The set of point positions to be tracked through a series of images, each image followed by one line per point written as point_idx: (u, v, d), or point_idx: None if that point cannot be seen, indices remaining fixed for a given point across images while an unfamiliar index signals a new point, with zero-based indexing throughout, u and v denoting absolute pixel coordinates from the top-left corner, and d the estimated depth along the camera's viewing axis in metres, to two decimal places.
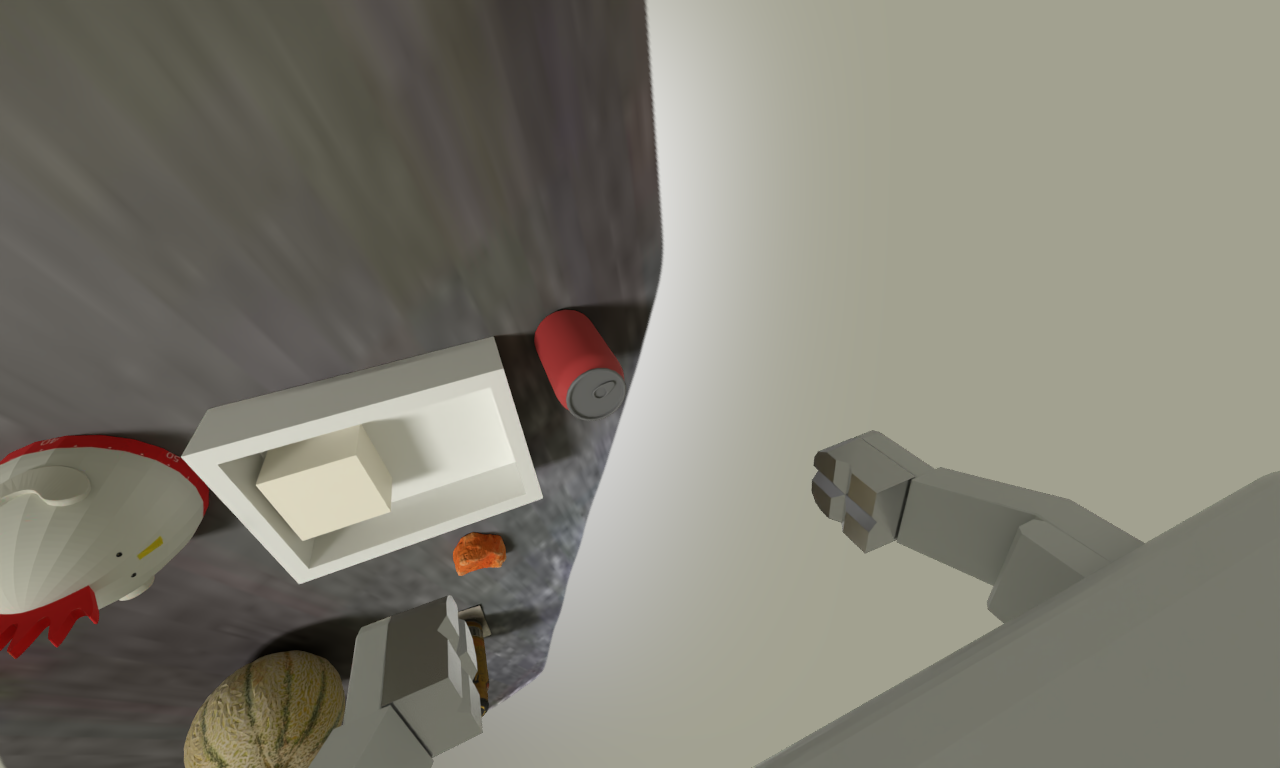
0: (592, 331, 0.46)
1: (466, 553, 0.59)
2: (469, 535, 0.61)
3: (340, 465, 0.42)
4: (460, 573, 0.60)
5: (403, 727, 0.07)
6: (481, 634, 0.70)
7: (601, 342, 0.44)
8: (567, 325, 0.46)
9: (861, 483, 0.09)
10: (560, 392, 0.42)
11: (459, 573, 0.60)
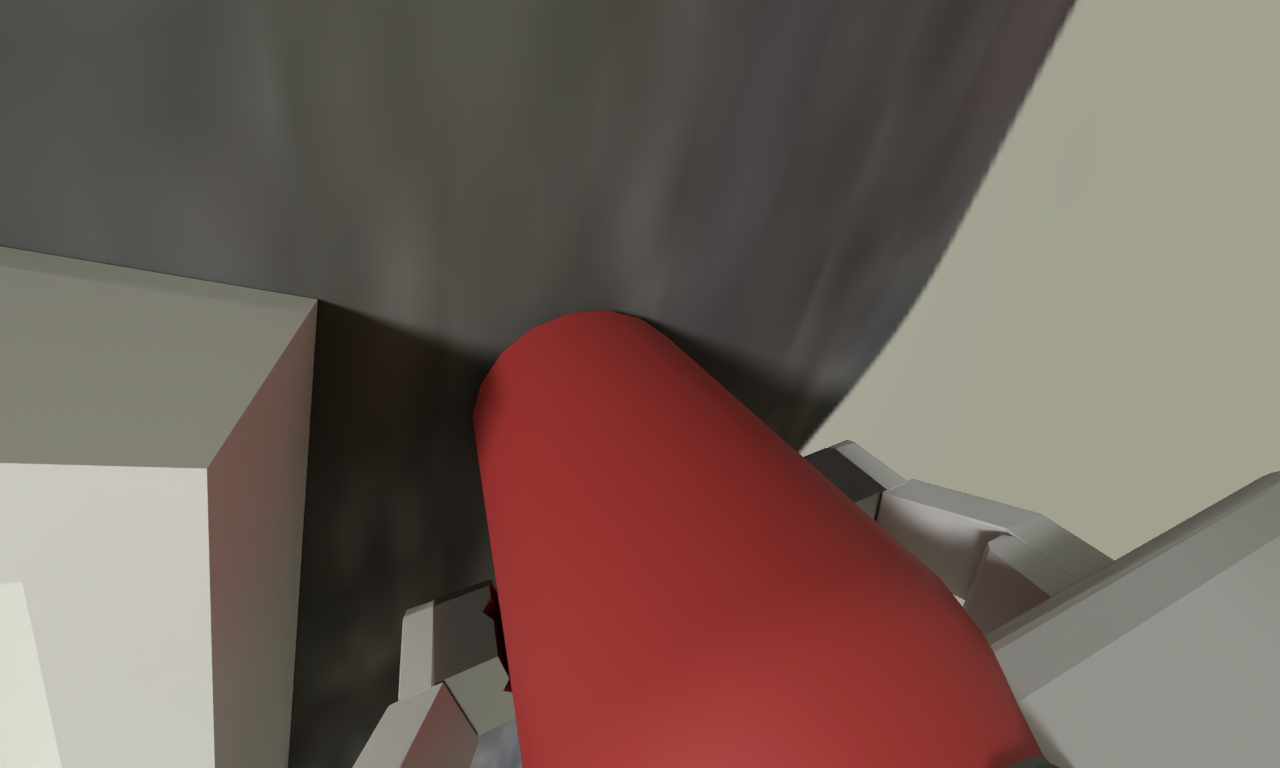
0: None
1: None
2: None
3: None
4: None
5: (454, 704, 0.07)
6: None
7: None
8: (670, 362, 0.10)
9: None
10: None
11: None
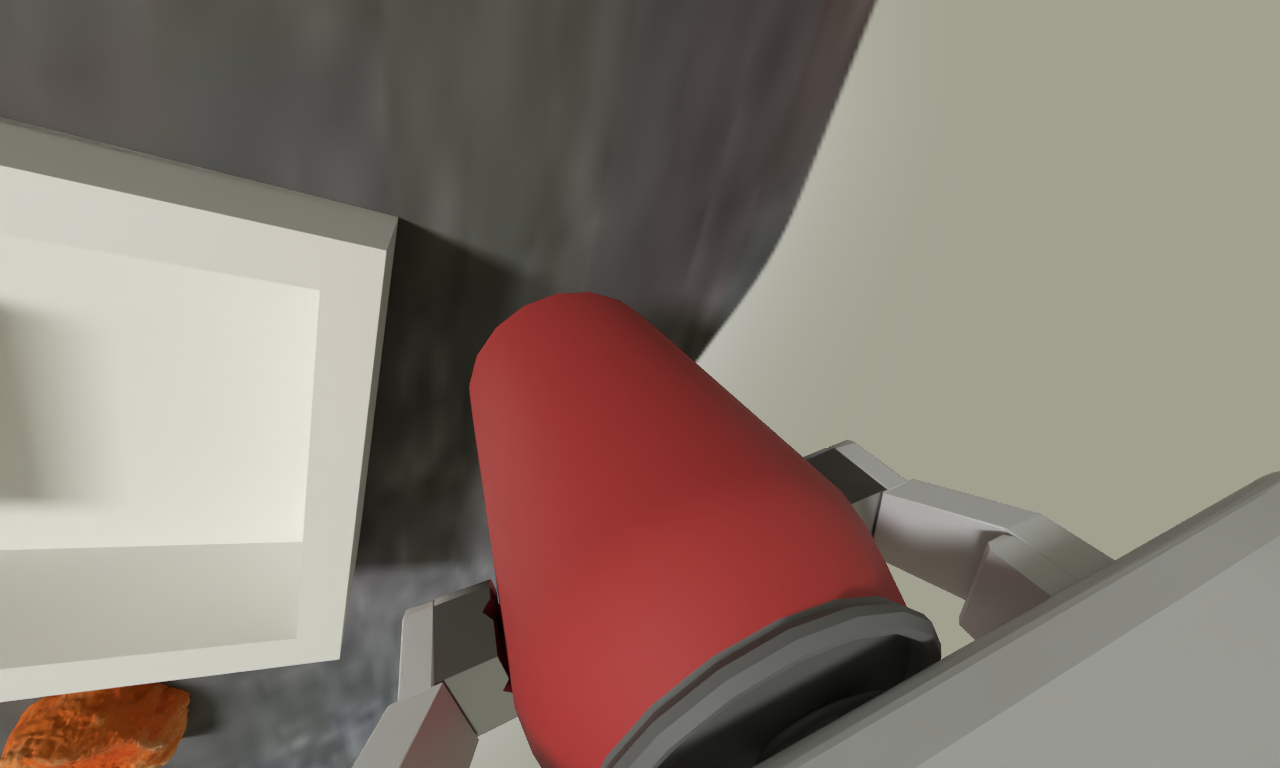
0: None
1: (41, 735, 0.21)
2: None
3: None
4: None
5: (453, 704, 0.07)
6: None
7: None
8: (641, 334, 0.12)
9: None
10: (564, 683, 0.06)
11: None
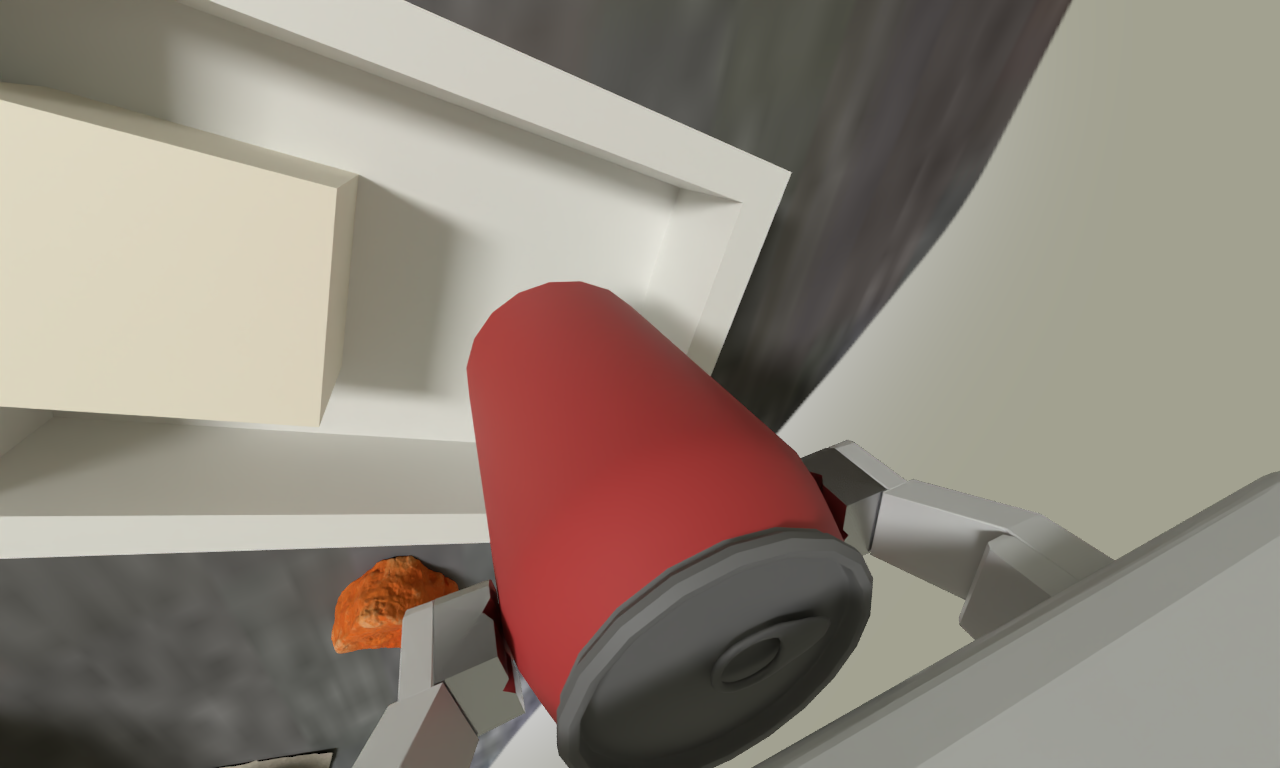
0: None
1: (384, 599, 0.25)
2: (402, 560, 0.27)
3: (268, 196, 0.13)
4: (342, 646, 0.25)
5: (453, 705, 0.07)
6: None
7: None
8: (625, 317, 0.13)
9: (832, 495, 0.09)
10: (545, 597, 0.07)
11: (339, 645, 0.25)
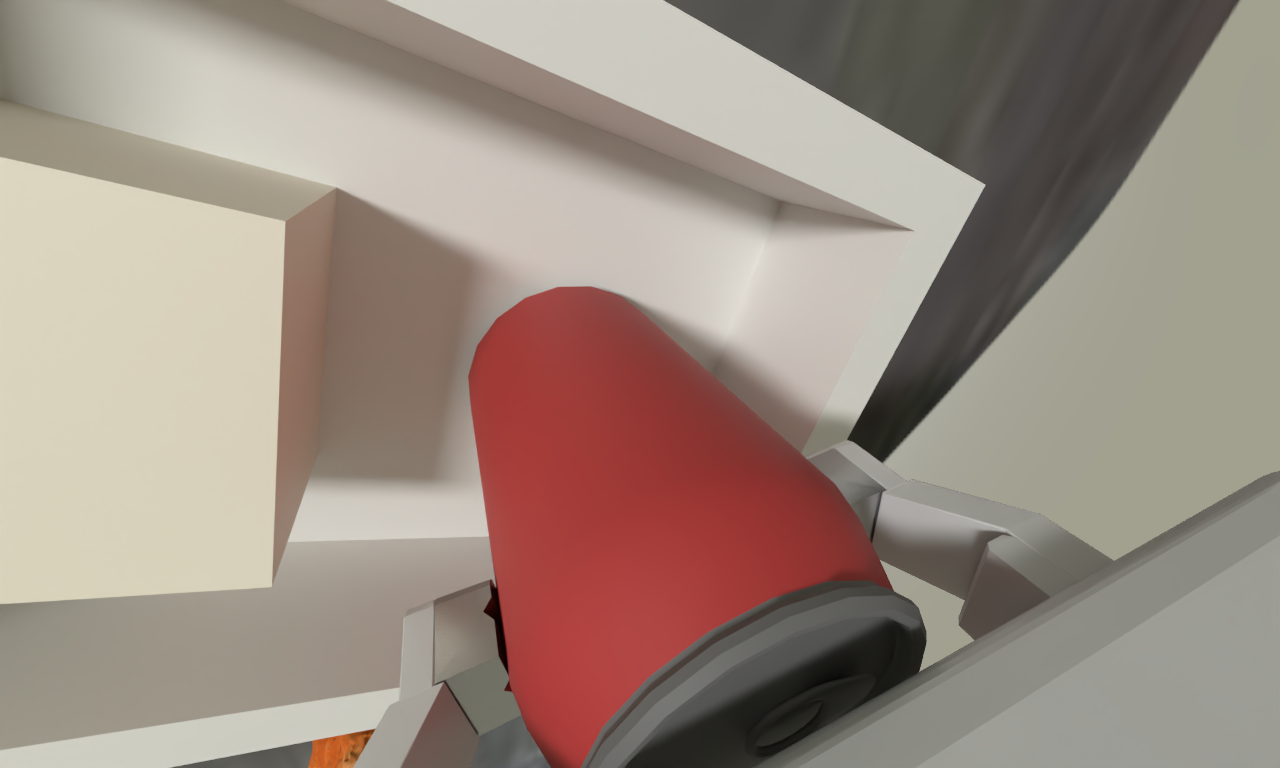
0: None
1: None
2: None
3: (156, 238, 0.07)
4: None
5: (454, 704, 0.07)
6: None
7: None
8: (641, 327, 0.12)
9: None
10: (563, 656, 0.06)
11: None
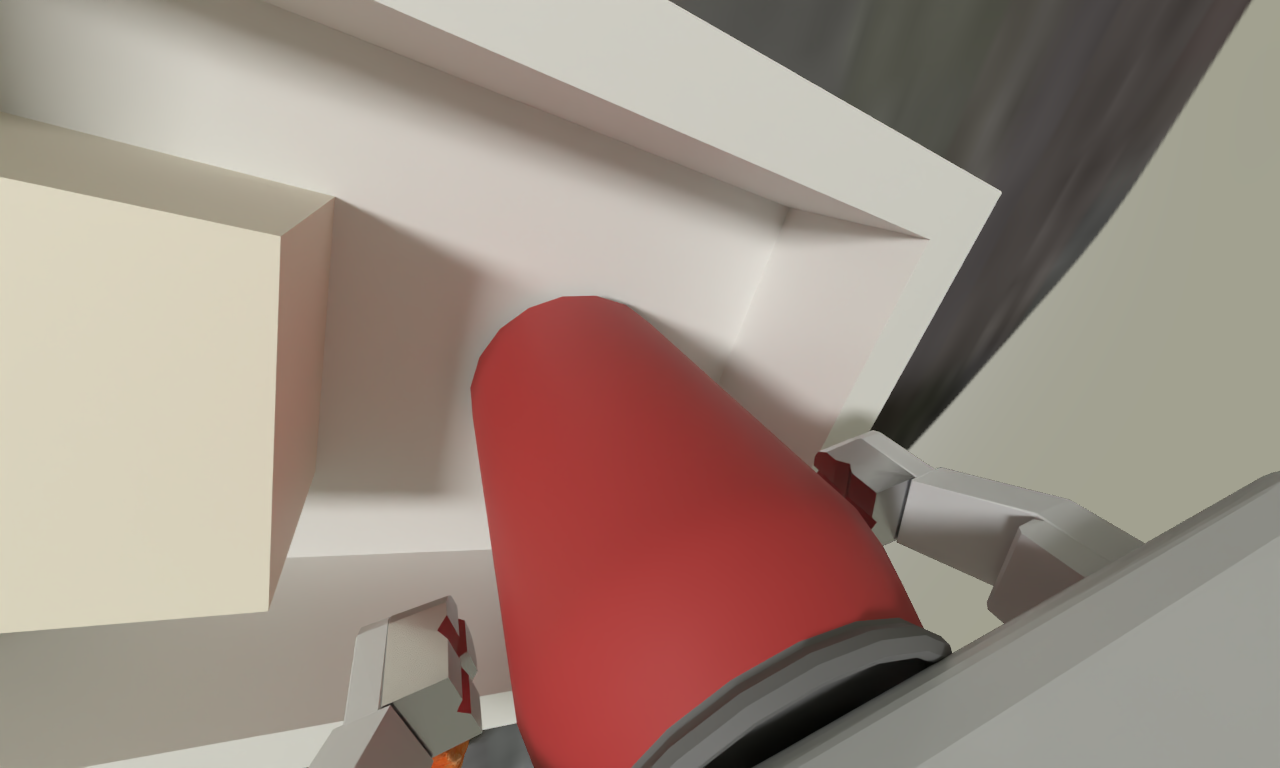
0: None
1: None
2: None
3: (145, 256, 0.07)
4: None
5: (403, 727, 0.07)
6: None
7: None
8: (649, 339, 0.12)
9: (861, 483, 0.09)
10: (575, 702, 0.06)
11: None
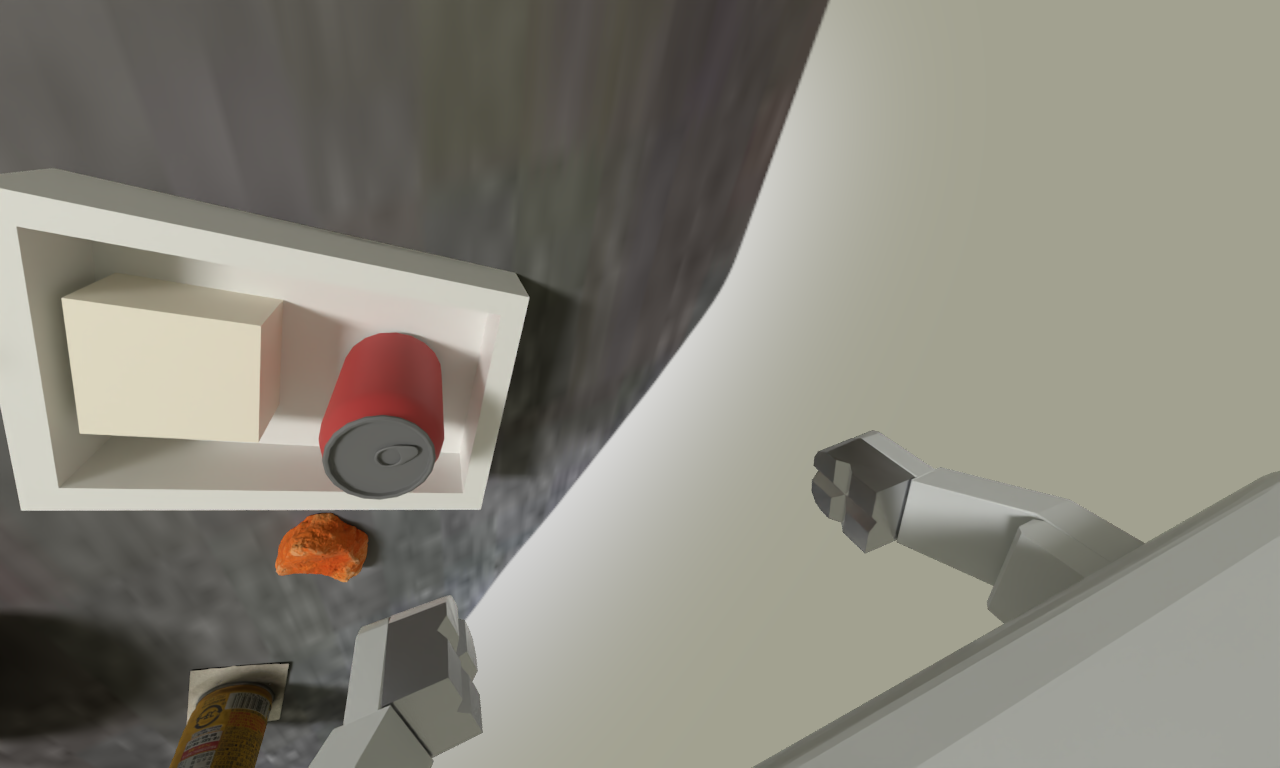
0: (430, 373, 0.32)
1: (308, 538, 0.38)
2: (324, 515, 0.40)
3: (226, 332, 0.27)
4: (281, 569, 0.38)
5: (403, 727, 0.07)
6: (267, 713, 0.45)
7: (433, 390, 0.30)
8: (399, 351, 0.32)
9: (861, 483, 0.09)
10: (323, 433, 0.26)
11: (279, 569, 0.38)
